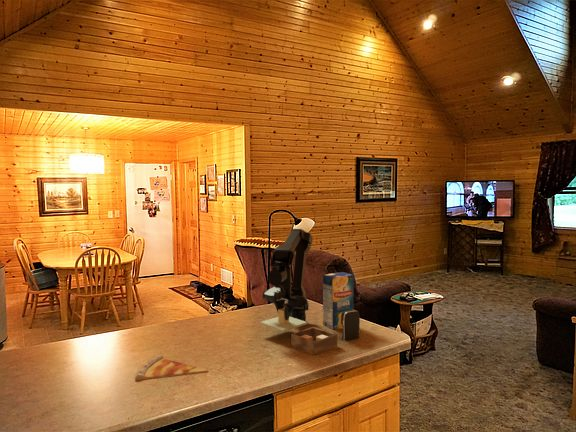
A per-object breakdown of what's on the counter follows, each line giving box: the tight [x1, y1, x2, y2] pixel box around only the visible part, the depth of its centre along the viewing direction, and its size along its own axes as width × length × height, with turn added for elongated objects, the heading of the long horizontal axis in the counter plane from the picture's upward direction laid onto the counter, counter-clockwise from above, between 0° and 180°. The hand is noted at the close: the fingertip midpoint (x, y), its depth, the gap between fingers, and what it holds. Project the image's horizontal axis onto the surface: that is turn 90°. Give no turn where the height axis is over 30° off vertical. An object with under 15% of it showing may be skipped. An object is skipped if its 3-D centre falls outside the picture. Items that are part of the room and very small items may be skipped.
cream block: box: [316, 335, 328, 341], centre depth 160 cm, size 4×4×4 cm
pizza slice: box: [134, 353, 209, 381], centre depth 138 cm, size 16×22×2 cm
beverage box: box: [322, 271, 355, 330], centre depth 183 cm, size 7×11×22 cm, turn 121°
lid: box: [259, 307, 308, 333], centre depth 171 cm, size 13×13×6 cm
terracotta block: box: [300, 335, 312, 340], centre depth 160 cm, size 4×4×4 cm
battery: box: [341, 309, 361, 342], centre depth 168 cm, size 7×4×11 cm, turn 118°
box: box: [290, 326, 338, 356], centre depth 160 cm, size 12×12×5 cm
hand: (283, 319), depth 171 cm, fingers closed on lid, 3 cm apart
